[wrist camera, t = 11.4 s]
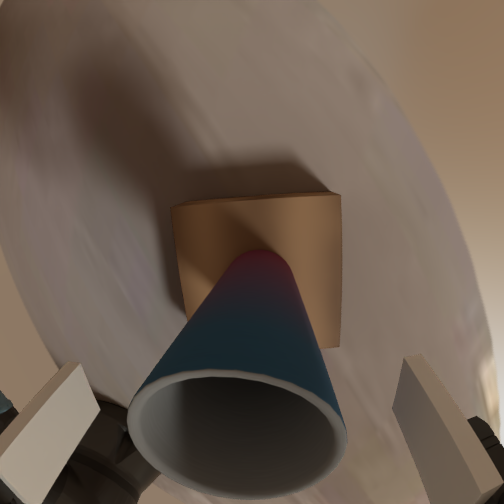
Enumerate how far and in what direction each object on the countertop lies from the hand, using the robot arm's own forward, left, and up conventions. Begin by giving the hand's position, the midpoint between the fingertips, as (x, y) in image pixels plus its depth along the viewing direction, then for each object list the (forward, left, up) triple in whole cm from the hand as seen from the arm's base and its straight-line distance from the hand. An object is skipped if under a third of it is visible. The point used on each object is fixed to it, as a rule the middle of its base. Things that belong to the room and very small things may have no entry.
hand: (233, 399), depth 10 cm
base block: (0, 0, -16) cm, 16 cm away
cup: (0, 0, -12) cm, 12 cm away
